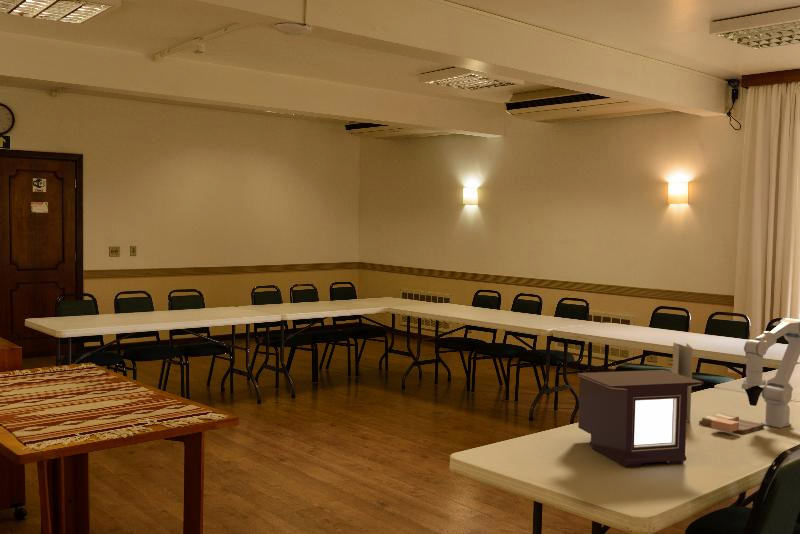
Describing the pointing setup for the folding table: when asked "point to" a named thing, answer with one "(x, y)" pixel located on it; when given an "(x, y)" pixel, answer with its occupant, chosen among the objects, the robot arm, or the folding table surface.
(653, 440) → the brown box television
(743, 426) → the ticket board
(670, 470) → the folding table surface
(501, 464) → the folding table surface
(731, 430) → the orange rectangular block
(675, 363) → the brochure
